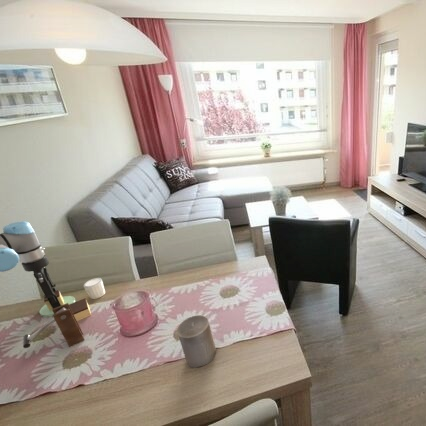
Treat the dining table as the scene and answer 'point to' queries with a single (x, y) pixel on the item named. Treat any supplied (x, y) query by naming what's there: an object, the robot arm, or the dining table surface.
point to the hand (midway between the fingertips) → (56, 304)
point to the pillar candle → (197, 341)
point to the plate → (46, 313)
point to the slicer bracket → (68, 325)
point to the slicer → (38, 332)
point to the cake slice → (57, 297)
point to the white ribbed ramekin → (94, 288)
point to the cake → (80, 309)
